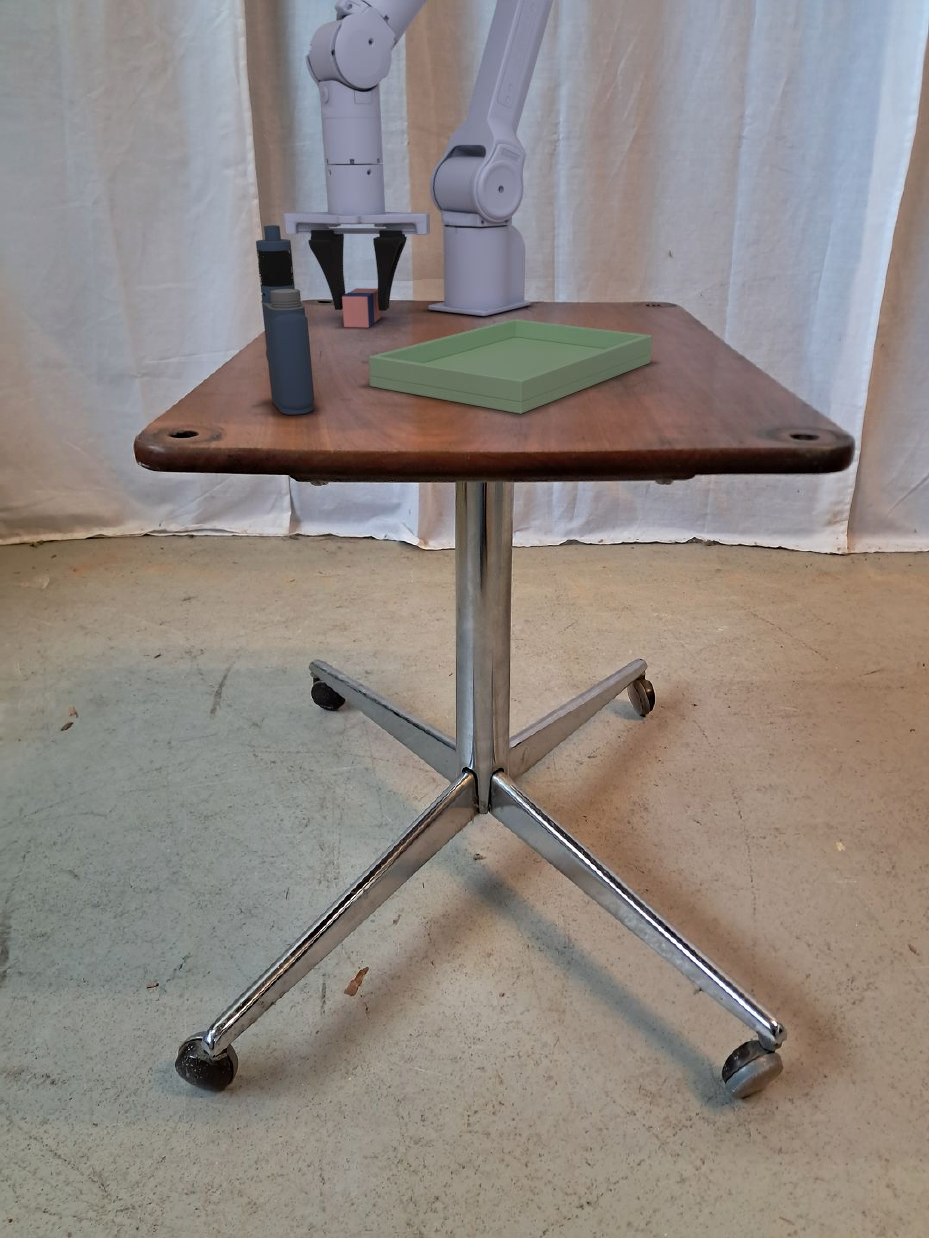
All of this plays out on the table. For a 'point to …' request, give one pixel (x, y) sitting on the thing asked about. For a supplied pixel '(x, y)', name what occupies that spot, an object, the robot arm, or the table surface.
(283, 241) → the vaping device
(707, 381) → the table surface
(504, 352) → the tray
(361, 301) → the eraser
